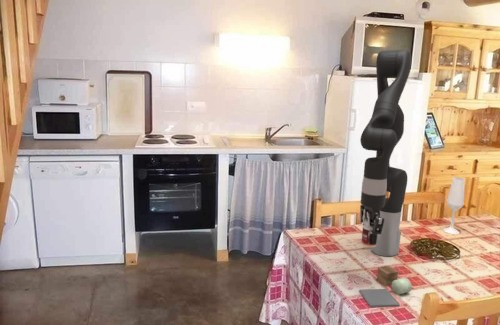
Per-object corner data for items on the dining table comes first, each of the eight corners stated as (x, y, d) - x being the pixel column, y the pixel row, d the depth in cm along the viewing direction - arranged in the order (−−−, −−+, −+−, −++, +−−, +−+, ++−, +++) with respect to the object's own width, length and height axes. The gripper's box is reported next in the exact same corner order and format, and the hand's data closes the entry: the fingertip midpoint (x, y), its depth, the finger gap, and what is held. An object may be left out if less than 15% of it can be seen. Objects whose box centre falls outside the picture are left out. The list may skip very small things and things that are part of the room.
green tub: (391, 290, 134) (400, 288, 136) (401, 296, 130) (411, 294, 132) (392, 277, 133) (401, 275, 135) (402, 283, 129) (412, 281, 131)
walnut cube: (387, 277, 142) (389, 265, 141) (396, 284, 138) (398, 271, 137) (376, 279, 141) (378, 267, 140) (385, 286, 137) (387, 273, 136)
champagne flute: (451, 234, 182) (459, 181, 177) (439, 229, 188) (446, 177, 183) (462, 232, 185) (471, 180, 180) (450, 227, 191) (458, 176, 186)
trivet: (386, 290, 134) (386, 288, 134) (399, 306, 125) (399, 304, 125) (359, 291, 133) (359, 289, 133) (370, 307, 124) (370, 305, 124)
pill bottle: (359, 241, 140) (361, 218, 138) (373, 241, 140) (375, 217, 138) (364, 247, 135) (366, 223, 133) (378, 247, 136) (381, 223, 134)
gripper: (395, 197, 127) (389, 250, 131) (375, 184, 141) (371, 231, 145) (371, 198, 126) (366, 250, 130) (354, 184, 140) (350, 232, 144)
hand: (369, 240), depth 138 cm, fingers closed on pill bottle, 4 cm apart
